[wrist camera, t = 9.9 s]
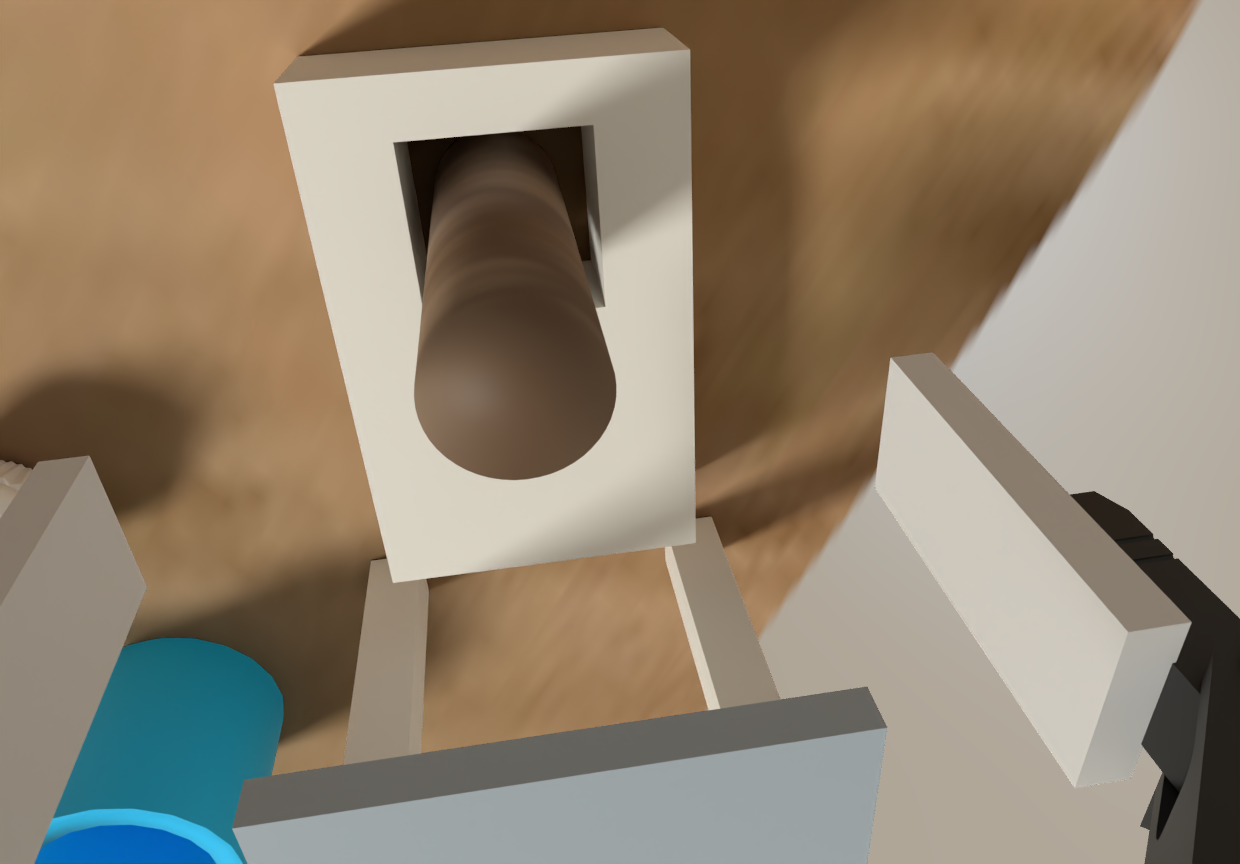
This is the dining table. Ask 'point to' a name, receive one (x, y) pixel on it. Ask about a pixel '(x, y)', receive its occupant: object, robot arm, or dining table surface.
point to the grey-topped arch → (585, 762)
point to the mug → (168, 758)
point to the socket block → (617, 273)
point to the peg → (508, 318)
